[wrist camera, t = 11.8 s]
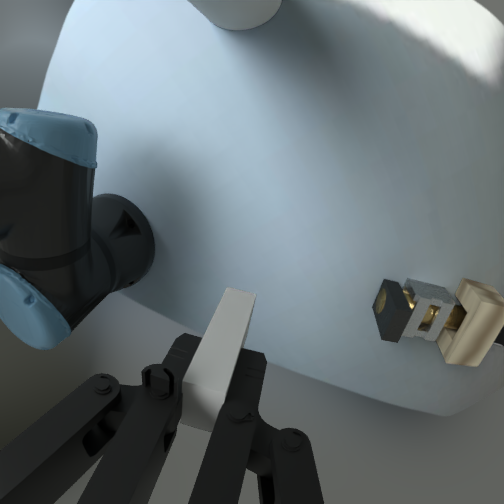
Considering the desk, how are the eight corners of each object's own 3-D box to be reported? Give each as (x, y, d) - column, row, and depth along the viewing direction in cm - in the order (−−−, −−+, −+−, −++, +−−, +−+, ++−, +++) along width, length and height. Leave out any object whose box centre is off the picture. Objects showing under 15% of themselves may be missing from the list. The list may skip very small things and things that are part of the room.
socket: (433, 335, 44) (446, 363, 38) (462, 277, 40) (481, 301, 33) (463, 340, 44) (477, 366, 37) (492, 286, 39) (512, 309, 33)
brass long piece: (372, 307, 43) (381, 339, 36) (383, 278, 41) (396, 308, 34) (464, 326, 42) (481, 355, 35) (477, 301, 40) (497, 329, 33)
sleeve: (390, 314, 44) (398, 335, 39) (407, 278, 41) (417, 296, 36) (427, 322, 43) (437, 341, 39) (444, 287, 41) (457, 305, 36)
